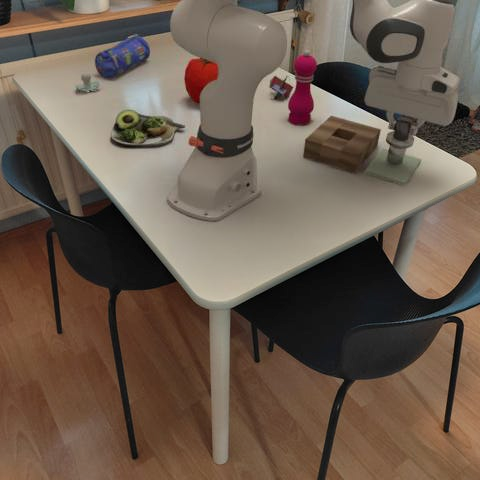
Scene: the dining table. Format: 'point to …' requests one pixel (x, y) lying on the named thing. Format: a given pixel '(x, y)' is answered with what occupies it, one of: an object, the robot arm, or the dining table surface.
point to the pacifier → (87, 83)
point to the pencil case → (122, 56)
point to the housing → (341, 143)
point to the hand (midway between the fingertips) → (401, 131)
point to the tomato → (199, 76)
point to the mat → (392, 168)
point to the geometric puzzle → (281, 87)
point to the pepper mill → (302, 90)
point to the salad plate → (142, 129)
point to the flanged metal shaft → (399, 140)
